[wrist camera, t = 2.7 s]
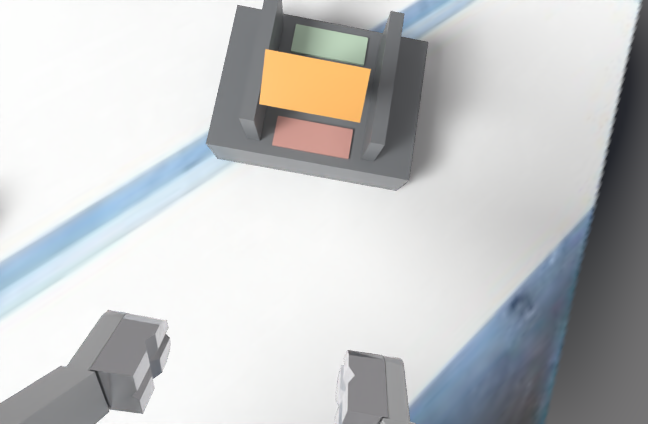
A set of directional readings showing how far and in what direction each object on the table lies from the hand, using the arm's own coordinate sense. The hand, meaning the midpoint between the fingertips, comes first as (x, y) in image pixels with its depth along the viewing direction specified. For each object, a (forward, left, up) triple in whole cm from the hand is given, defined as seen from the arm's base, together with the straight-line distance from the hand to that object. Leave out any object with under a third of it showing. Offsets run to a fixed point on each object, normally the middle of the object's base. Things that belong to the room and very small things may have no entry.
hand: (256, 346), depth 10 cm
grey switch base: (+16, 0, -21) cm, 27 cm away
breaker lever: (+16, 0, -16) cm, 23 cm away
